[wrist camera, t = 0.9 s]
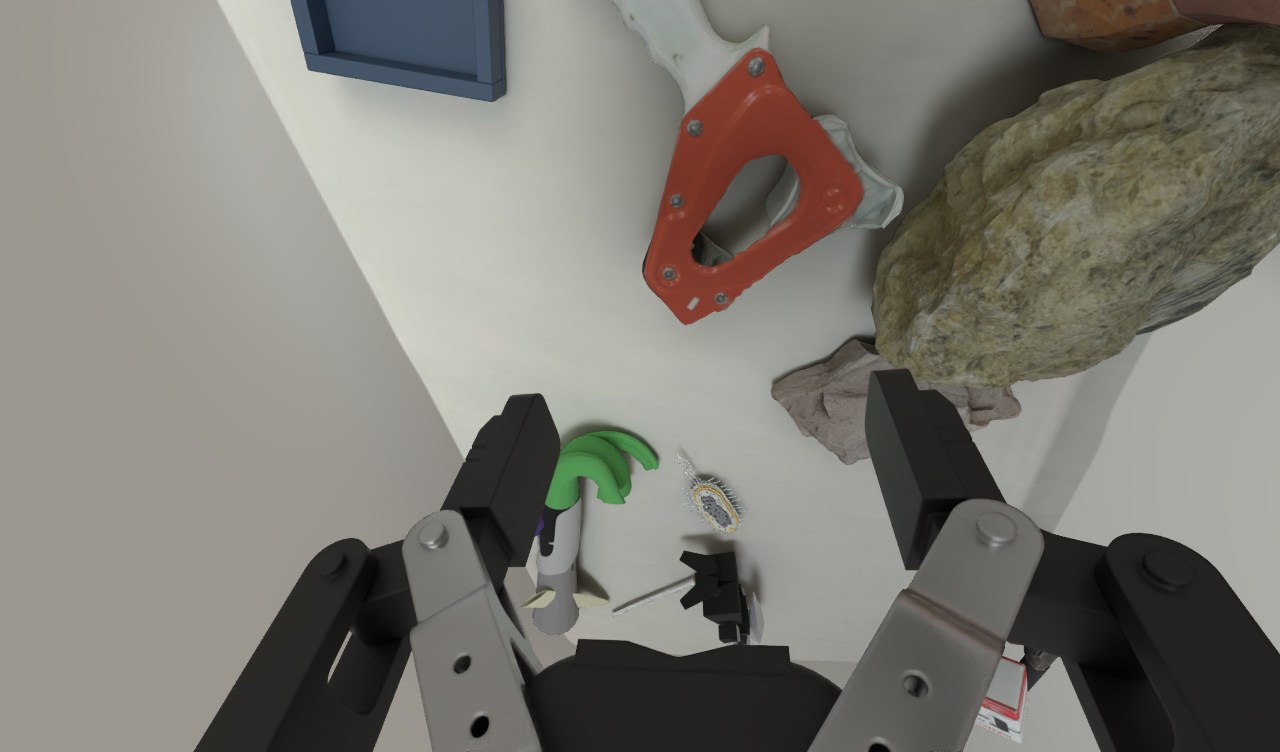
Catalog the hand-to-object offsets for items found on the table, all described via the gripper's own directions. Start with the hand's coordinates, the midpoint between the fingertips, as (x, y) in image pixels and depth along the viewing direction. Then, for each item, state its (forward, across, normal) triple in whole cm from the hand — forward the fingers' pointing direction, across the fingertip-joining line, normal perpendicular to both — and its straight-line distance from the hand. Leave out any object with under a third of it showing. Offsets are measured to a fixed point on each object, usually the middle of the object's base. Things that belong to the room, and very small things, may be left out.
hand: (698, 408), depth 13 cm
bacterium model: (+19, +6, +29) cm, 35 cm away
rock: (+14, -19, +12) cm, 26 cm away
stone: (+20, -11, +18) cm, 29 cm away
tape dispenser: (+21, -1, -2) cm, 21 cm away
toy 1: (+17, +20, +48) cm, 55 cm away
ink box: (+15, -21, +52) cm, 58 cm away
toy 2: (+16, +10, +36) cm, 41 cm away
